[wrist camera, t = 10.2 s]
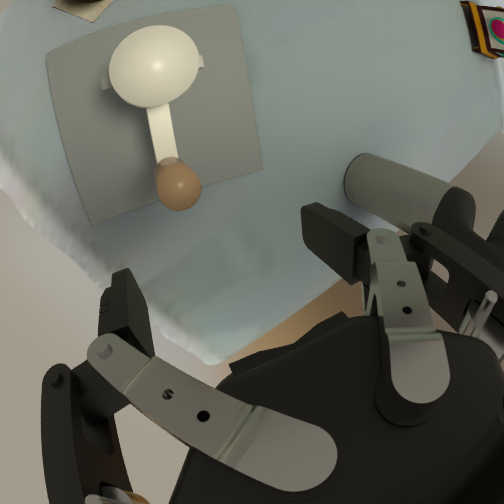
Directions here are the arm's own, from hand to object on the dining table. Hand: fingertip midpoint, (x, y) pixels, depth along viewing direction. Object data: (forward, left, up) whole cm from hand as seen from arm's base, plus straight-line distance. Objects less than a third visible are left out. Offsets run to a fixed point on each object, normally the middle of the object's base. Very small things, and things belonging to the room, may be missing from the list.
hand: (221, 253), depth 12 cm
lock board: (0, -7, -22) cm, 24 cm away
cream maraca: (0, -6, -17) cm, 18 cm away
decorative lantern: (-90, -32, -23) cm, 98 cm away
